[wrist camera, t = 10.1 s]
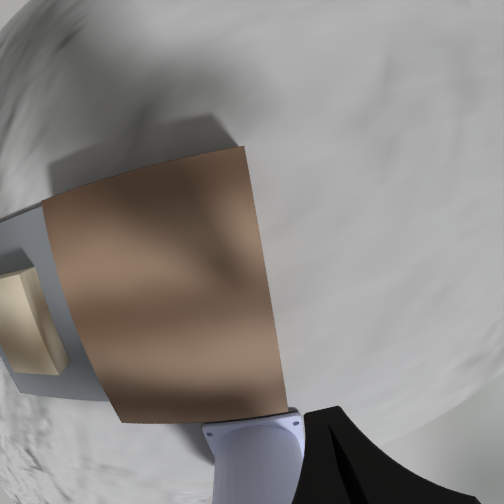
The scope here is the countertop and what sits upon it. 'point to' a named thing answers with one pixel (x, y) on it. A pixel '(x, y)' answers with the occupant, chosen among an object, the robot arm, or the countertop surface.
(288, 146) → the countertop surface
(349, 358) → the countertop surface
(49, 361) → the birch tile
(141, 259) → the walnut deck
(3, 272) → the grey flat slab
